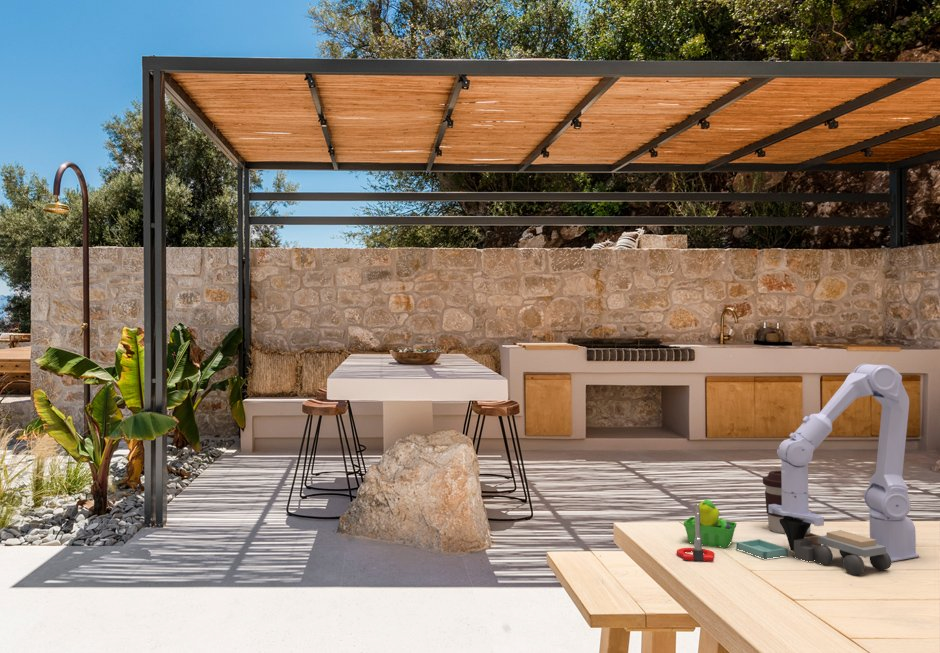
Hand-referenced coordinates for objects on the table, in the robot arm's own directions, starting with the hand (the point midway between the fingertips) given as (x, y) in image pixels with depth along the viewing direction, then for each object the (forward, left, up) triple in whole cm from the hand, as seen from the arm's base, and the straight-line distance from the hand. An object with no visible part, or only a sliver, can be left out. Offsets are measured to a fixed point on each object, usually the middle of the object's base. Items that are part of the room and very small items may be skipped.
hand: (795, 550), depth 175 cm
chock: (0, +3, -1) cm, 4 cm away
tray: (+6, -4, -1) cm, 7 cm away
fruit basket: (+11, -16, -1) cm, 20 cm away
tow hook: (+21, -9, -1) cm, 23 cm away
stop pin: (-7, -4, -1) cm, 8 cm away
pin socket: (-7, -4, -1) cm, 8 cm away
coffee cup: (-15, -18, -1) cm, 23 cm away
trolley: (-4, +12, -1) cm, 12 cm away
